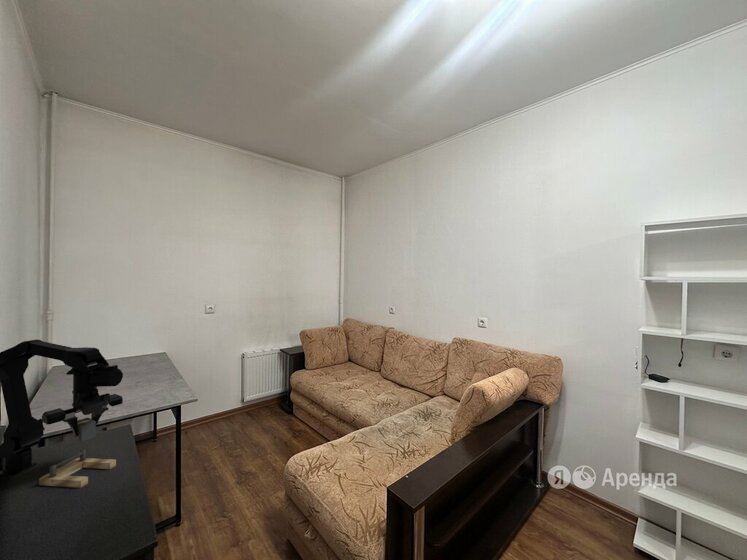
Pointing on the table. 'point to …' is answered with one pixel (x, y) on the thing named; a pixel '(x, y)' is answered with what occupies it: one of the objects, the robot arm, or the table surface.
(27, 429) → the robot arm
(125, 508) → the table surface
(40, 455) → the table surface
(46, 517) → the table surface
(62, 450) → the table surface
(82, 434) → the banded grey block
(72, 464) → the wooden u-shaped holder
